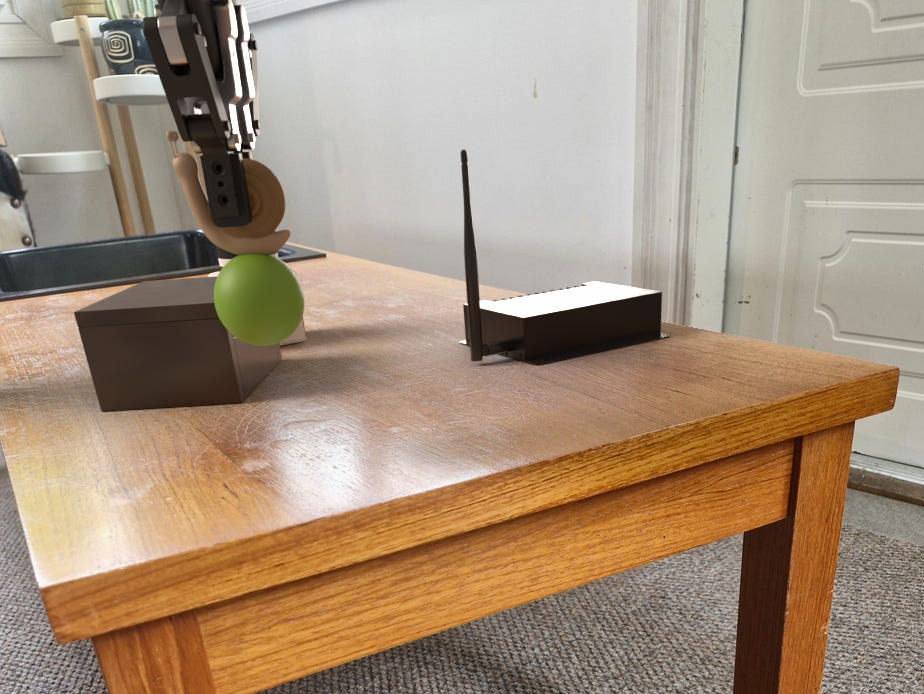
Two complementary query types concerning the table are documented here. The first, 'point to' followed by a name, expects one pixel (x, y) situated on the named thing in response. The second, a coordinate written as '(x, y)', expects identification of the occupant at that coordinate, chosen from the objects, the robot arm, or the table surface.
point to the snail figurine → (249, 256)
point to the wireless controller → (553, 313)
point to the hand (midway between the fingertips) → (238, 222)
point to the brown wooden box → (168, 348)
